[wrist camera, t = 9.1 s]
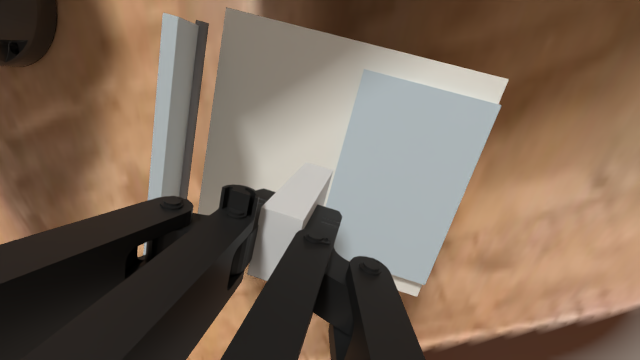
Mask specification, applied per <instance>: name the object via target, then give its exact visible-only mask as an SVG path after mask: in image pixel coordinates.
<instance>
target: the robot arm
mask: <svg viewBox="0 0 640 360" xmlns="http://www.w3.org/2000/svg"><path fill="white" fill-rule="evenodd" d="M55 28H56V3H55V0H0V66H12V67H21V66H27V65H30V64H32V63H34V62H36V61H37V60H39V59H40V58H41V57H42V56H43V55H44V54H45V53H46V51H47V50H48V48H49V47H50V45H51V43H52V40H53V37H54V33H55ZM332 173H333V170H330V169H327V168H324V167H320V166H317V165H314V164H310V163H307V162H306V163H305V164H304V165H303V166H302V167H301V168H300V169H299V170H298V171H297V172H296V173H295V174H294V175H293V176H292V177H291V178H290V179H289V180H288V181H287V182H286V183H285V184H284V185H283V186H282V187H281V188H280V189H279V190H278V191H277V192H274V191H270V190H267V189H264V188H263V189H259V190H254V189H252V188H250V187H247V186H243V185H234V184H233V185H226V186H223V187H222V191H221V197H220V203H219V208H218V209H217V210H216V211H215V212H213V213H212V214H211V215H202V214H196V213H192V212H193V204H192V203H191V202H190V201H188V200H187V199H184V198H182V197H178V196H177V197H176V196H164V197H158V198H155V199H151V200H148V201H145V202H141V203H138V204H135V205H131V206H128V207H125V208H121V209H118V210H115V211H111V212H108V213H105V214H101V215H98V216H95V217H91V218H88V219H85V220H81V221H78V222H74V223H71V224H68V225H64V226H61V227H58V228H54V229H51V230H48V231H44V232H41V233H38V234H34V235H31V236H28V237H24V238H21V239H18V240H14V241H11V242H8V243H4V244H1V245H0V360H186V359H187V358H188V356H189V355H190V353H191V352H192V351H193V349H194V348H195V346H196V345H197V344H198V342H199V341H200V339H201V338H202V337H203V335H204V334H205V332H206V331H207V330H208V328H209V327H210V325H211V324H212V323H213V321H214V320H215V318H216V317H217V316H218V314H219V313H220V311H221V310H222V308H223V307H224V306H225V304H226V303H227V301H228V300H229V299H230V297H231V296H232V294H233V293H234V292H235V290H236V289H237V287H238V286H239V285H240V283H241V282H242V279H243V275H244V270H245V268H246V267H247V265H248V264H249V263H250V264H249V269H248V273H247V274H248V275H251V276H254V277H257V278H260V279H263V280H266V281H267V283H266V284H265V286H264V288H263V289H262V291H261V293H260V294H259V296H258V298H257V299H256V301H255V303H254V304H253V306H252V308H251V309H250V311H249V313H248V314H247V316H246V318H245V319H244V321H243V323H242V324H241V326H240V328H239V329H238V331H237V333H236V335H235V336H234V338H233V340H232V341H231V343H230V345H229V346H228V348H227V350H226V351H225V353H224V355H223V356H222V358H221V360H298V358H299V355H300V352H301V349H302V345H303V342H304V339H305V336H306V333H307V330H308V327H309V324H310V321H311V318H312V314H313V313H315V314H316V315H318V316H320V317H321V318H323V319H324V320H326V321H327V322H329V323H330V324H329V330H328V331H329V343H330V354H331V360H425V357H424V355H423V352H422V350H421V347H420V345H419V342H418V340H417V337H416V335H415V332H414V330H413V327H412V325H411V322H410V320H409V317H408V315H407V312H406V310H405V307H404V305H403V302H402V300H401V297H400V295H399V293H398V290H397V288H396V285H395V283H394V280H393V278H392V275H391V273H390V271H389V269H388V268H387V267H386V266H385V265H384V264H382V263H381V262H380V261H378V260H376V259H374V258H370V257H366V256H357V257H353V258H352V259H351V260H350V262H349V261H347V260H346V259H344V258H343V257H341V256H340V255H339V254H338V253H337V252H336V251H335V249H334V243H335V240H336V237H337V233H338V230H339V227H340V223H341V220H342V215H341V213H340V212H339V211H337V210H334V209H331V208H328V207H325V206H324V202H325V199H326V195H327V191H328V188H329V184H330V180H331V177H332ZM146 242H147V245H146V255H143V256H141V257H137V248H138V246H139V245H141V244H143V243H146Z"/></svg>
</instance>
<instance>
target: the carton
mask: <svg viewBox="0 0 640 360" xmlns="http://www.w3.org/2000/svg"><path fill="white" fill-rule="evenodd" d="M508 80H509V79H506V78H502V77H498V76H494V75H490V74H486V73H482V72H478V71H474V70H470V69H467V68H463V67H459V66H455V65H451V64H447V63H443V62H439V61H435V60H431V59H427V58H423V57H419V56H415V55H411V54H408V53H404V52H400V51H396V50H392V49H388V48H384V47H380V46H376V45H372V44H368V43H364V42H360V41H356V40H352V39H349V38H345V37H341V36H337V35H333V34H329V33H325V32H321V31H317V30H313V29H309V28H305V27H301V26H297V25H294V24H290V23H286V22H282V21H278V20H274V19H270V18H266V17H262V16H258V15H254V14H250V13H246V12H242V11H238V10H235V9H231V8H227V7H226V12H225V19H224V27H223V34H222V41H221V48H220V56H219V63H218V70H217V77H216V85H215V92H214V99H213V106H212V114H211V121H210V128H209V135H208V143H207V150H206V157H205V164H204V172H203V179H202V186H201V193H200V200H199V208H198V214H202V215H211V214H212V213H213V212H215V211H216V210H217V209H218V208H219V203H220V197H221V191H222V187H223V186H226V185H233V184H234V185H243V186H247V187H250V188H252V189H254V190H259V189H263V188H264V189H267V190H270V191H274V192H277V191H278V190H279V189H280V188H281V187H282V186H283V185H284V184H285V183H286V182H287V181H288V180H289V179H290V178H291V177H292V176H293V175H294V174H295V173H296V172H297V171H298V170H299V169H300V168H301V167H302V166H303V165H304V164H305V163H306V162H307V163H310V164H314V165H317V166H320V167H324V168H327V169H330V170H333V173H332V177H331V180H330V184H329V188H328V191H327V195H326V199H325V202H324V206H325V207H328V208H331V209H334V210H337V211H339V212H340V213H341V215H342V220H341V223H340V227H339V230H338V233H337V237H336V240H335V243H334V249H335V251H336V252H337V253H338V254H339V255H340V256H341V257H343V258H344V259H346V260H347V261H349V262H350V260H351V259H352V258H353V257H357V256H366V257H370V258H374V259H376V260H378V261H380V262H381V263H382V264H384V265H385V266H386V267H387V268H388V269H389V271H390V273H391V275H392V278H393V280H394V283H395V285H396V288H397V290H398V291H401V292H404V293H407V294H410V295H413V296H416V297H417V296H418V293H419V291H420V289H421V286H422V284H423V285H425V284H426V281H427V279H428V277H429V274H430V272H431V270H432V267H433V265H434V263H435V260H436V258H437V256H438V253H439V251H440V249H441V246H442V244H443V242H444V239H445V237H446V235H447V232H448V230H449V227H450V225H451V223H452V220H453V218H454V216H455V213H456V211H457V209H458V206H459V204H460V202H461V199H462V197H463V195H464V192H465V190H466V188H467V185H468V183H469V181H470V178H471V176H472V174H473V171H474V169H475V166H476V164H477V162H478V159H479V157H480V155H481V152H482V150H483V148H484V145H485V143H486V141H487V138H488V136H489V134H490V131H491V129H492V127H493V124H494V122H495V120H496V117H497V115H498V112H499V110H500V108H501V105H499V102H500V99H501V97H502V94H503V92H504V90H505V87H506V85H507V83H508Z"/></svg>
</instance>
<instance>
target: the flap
mask: <svg viewBox="0 0 640 360" xmlns="http://www.w3.org/2000/svg"><path fill="white" fill-rule="evenodd" d="M208 26H209V23H206V22H202V21H198V20H196V24H194V23H191V22H189V21H187V20H184V19H182V18H180V17H177V16H173V15H170V14H166V13H163V19H162V31H161V44H160V56H159V68H158V81H157V93H156V105H155V118H154V130H153V142H152V155H151V167H150V179H149V192H148V200H151V199H155V198H158V197H164V196H176V197H177V196H178V197H182V198H184V199H187V195H188V187H189V179H190V171H191V163H192V155H193V146H194V138H195V130H196V122H197V114H198V106H199V98H200V90H201V82H202V74H203V66H204V58H205V50H206V42H207V34H208ZM146 245H147V242H146V243H144V253H143V255H146Z"/></svg>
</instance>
